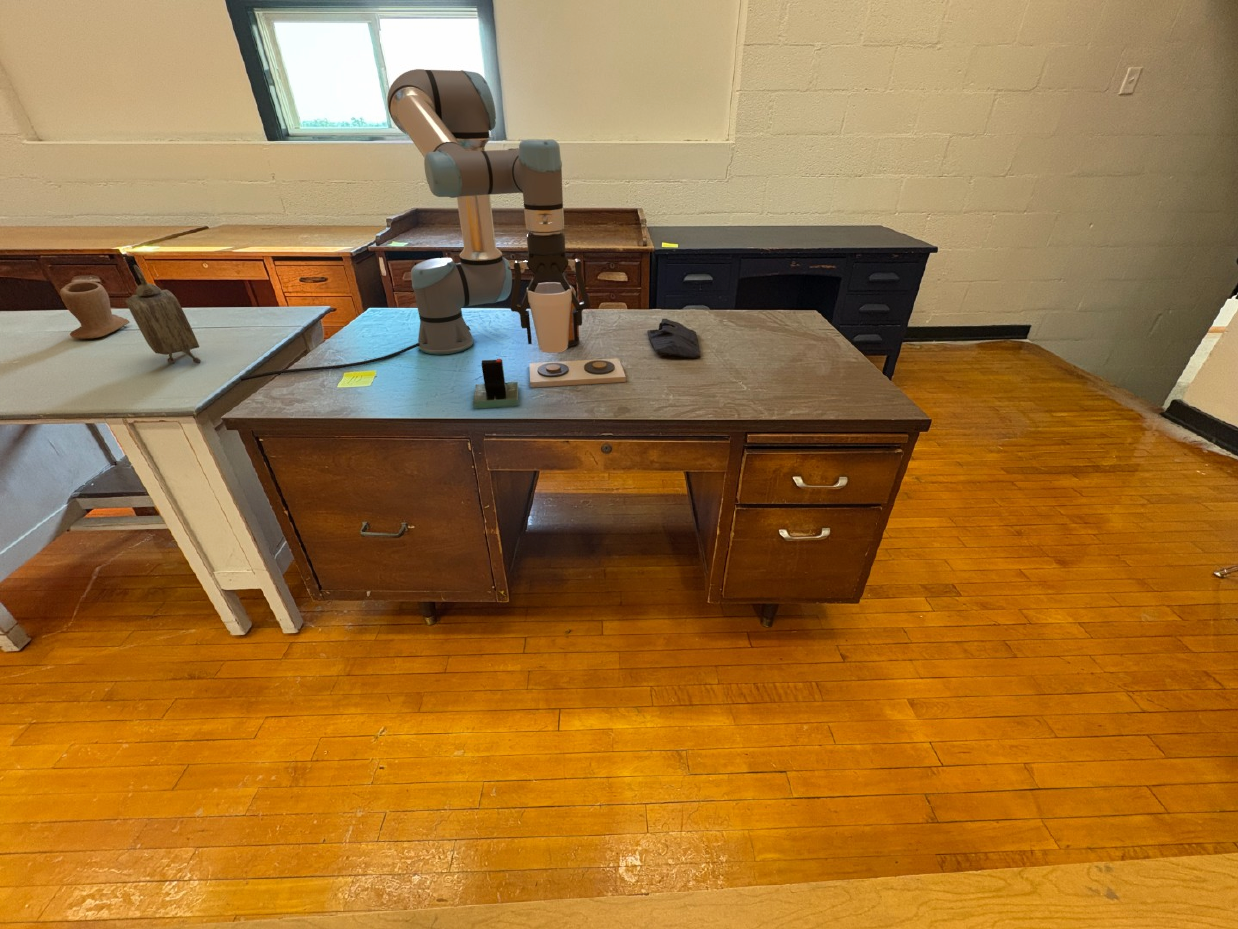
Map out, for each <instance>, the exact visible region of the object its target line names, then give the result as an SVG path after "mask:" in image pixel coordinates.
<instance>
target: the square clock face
mask: <svg viewBox="0 0 1238 929" xmlns="http://www.w3.org/2000/svg"><path fill="white" fill-rule="evenodd" d="M505 385H506V392H499V393H486V391H485V384H484V383H479V384H475V387H474V393H473V399H472V400H473V401H472V404H473V409H474V410H481V409H494V408H495V409H497V408H509V407H511V408H512V407H519V383H518V381H513V382H505Z"/></svg>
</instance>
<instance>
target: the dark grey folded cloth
mask: <svg viewBox="0 0 1238 929" xmlns="http://www.w3.org/2000/svg"><path fill="white" fill-rule="evenodd" d="M646 331H647V332H646V334H647V336H648V339H649V341H650V343H651V345H652V347H653V349H654V351H655V352H656V354H658V355H663V356H671V357H679V358H680V357H681V358H688V359H696V358H697V359H698V358H700V357H701V349H700V343H699V339H698V335H697V332H696V331H695V330H693V329H691V328H689V327H686V326H685V325H684V324H682V323H680V322H678V321H674V320H672V319H671V320H670V319H668V318H662V319H661V321H660V322H659V324H658V328H656V329H648V330H646Z"/></svg>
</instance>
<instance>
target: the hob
mask: <svg viewBox="0 0 1238 929" xmlns="http://www.w3.org/2000/svg"><path fill="white" fill-rule="evenodd" d="M626 382H627V377H626V372H625V371H624V368H623V366H622V363H621V361H620V358H618V357H617V358H601V359H600V358H599V359H598V358H597V359H581V360H564V361H546V362H543V361H542V362H529V385H530V388H547V387H548V388H549V387H562V386H563V387H564V386H581V385H596V384H597V385H598V384H599V385H600V384H614V383H626Z"/></svg>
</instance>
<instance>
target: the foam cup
mask: <svg viewBox="0 0 1238 929" xmlns="http://www.w3.org/2000/svg"><path fill="white" fill-rule="evenodd" d="M571 286H572V285H571ZM571 286H570V288H571V289H568V290H567V291H565V290H564V288H563V286H562V285H561V283H557V282H553V281H544V282H539V283H538V285H537V287H536V289H535V291H534V292H532V291H528V287H526V291H527V292H528V301H529V308H530V312H531V313H530V314H531V317H532V321H533V322H532V323H533V327H534V332H535V336H536V340H537V345H538V348H539V351H541V352H543V353H548V354H557V353H561V352H564V351H567V349H568V348H569V347H568V338H569V326H570V314H571V301H572V293H571V290H572V287H573V286H572V287H571Z"/></svg>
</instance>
